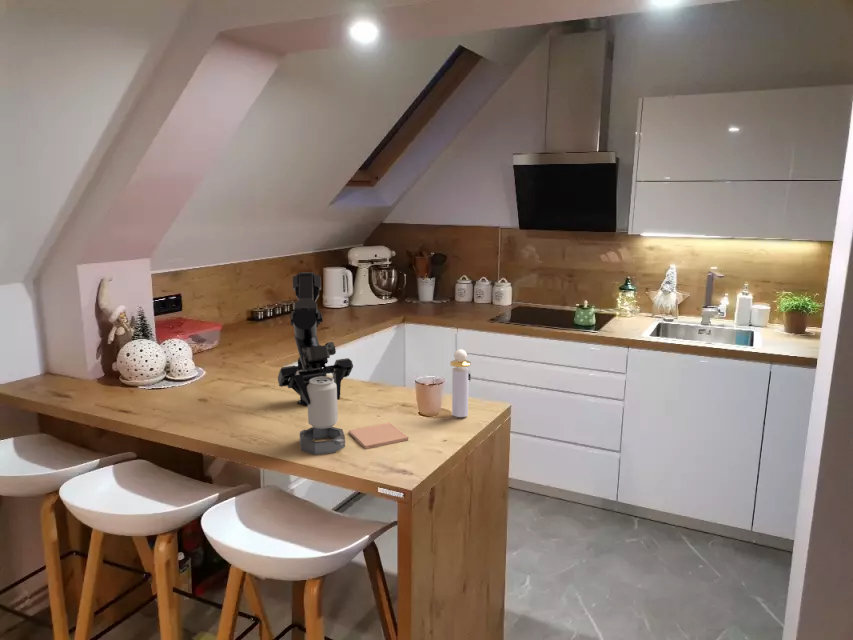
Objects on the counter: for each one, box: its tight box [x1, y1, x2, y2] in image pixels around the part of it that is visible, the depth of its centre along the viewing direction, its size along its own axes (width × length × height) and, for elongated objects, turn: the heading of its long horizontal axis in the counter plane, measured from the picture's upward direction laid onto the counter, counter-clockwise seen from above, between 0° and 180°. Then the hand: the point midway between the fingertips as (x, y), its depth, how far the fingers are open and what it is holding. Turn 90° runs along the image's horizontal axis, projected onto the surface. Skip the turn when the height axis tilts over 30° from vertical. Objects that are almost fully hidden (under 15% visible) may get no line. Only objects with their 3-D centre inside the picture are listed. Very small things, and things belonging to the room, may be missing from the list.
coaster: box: [348, 422, 409, 450], centre depth 171 cm, size 12×12×1 cm
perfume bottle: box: [449, 348, 472, 418], centre depth 183 cm, size 6×6×20 cm
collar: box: [299, 426, 346, 456], centre depth 165 cm, size 13×11×3 cm
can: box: [307, 376, 339, 429], centre depth 163 cm, size 8×8×12 cm
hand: (324, 401), depth 162 cm, fingers closed on can, 7 cm apart
